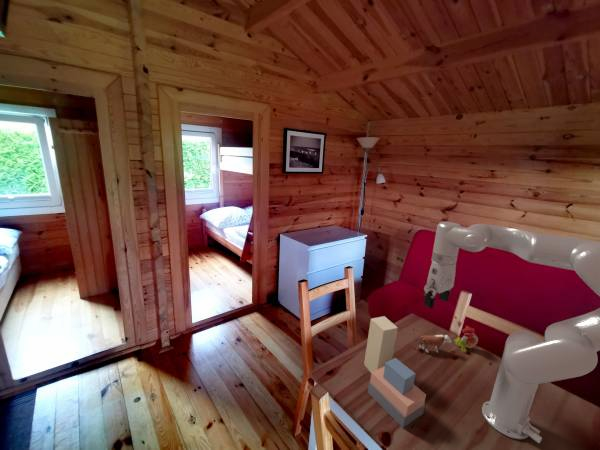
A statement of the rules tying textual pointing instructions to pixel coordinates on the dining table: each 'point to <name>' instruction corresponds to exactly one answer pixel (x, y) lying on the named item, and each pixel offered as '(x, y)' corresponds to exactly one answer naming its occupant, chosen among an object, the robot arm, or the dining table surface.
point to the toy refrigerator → (380, 343)
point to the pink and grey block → (396, 399)
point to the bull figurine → (433, 341)
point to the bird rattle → (467, 339)
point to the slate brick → (399, 376)
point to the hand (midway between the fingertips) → (436, 303)
